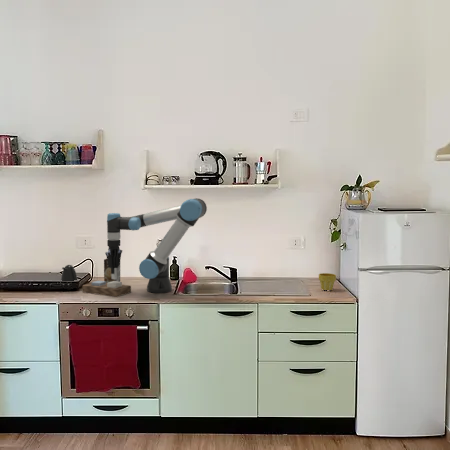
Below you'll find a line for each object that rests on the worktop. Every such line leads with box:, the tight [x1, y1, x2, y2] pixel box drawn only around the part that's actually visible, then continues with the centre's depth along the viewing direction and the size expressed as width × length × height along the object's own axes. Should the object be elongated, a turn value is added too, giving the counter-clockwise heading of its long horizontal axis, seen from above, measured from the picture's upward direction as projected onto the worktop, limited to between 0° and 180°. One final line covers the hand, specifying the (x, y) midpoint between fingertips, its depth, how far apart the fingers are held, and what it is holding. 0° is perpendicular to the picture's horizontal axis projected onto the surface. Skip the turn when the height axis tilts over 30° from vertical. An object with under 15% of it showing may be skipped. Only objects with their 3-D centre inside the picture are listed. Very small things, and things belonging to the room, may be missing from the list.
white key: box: [107, 281, 123, 288], centre depth 305 cm, size 6×6×3 cm
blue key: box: [91, 280, 106, 286], centre depth 310 cm, size 6×6×3 cm
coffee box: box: [103, 258, 121, 283], centre depth 332 cm, size 9×6×16 cm
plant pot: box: [318, 272, 337, 291], centre depth 317 cm, size 10×10×10 cm
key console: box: [82, 282, 132, 298], centre depth 308 cm, size 26×13×4 cm, turn 63°
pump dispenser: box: [60, 264, 78, 281], centre depth 314 cm, size 10×10×15 cm
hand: (114, 278), depth 304 cm, fingers closed
